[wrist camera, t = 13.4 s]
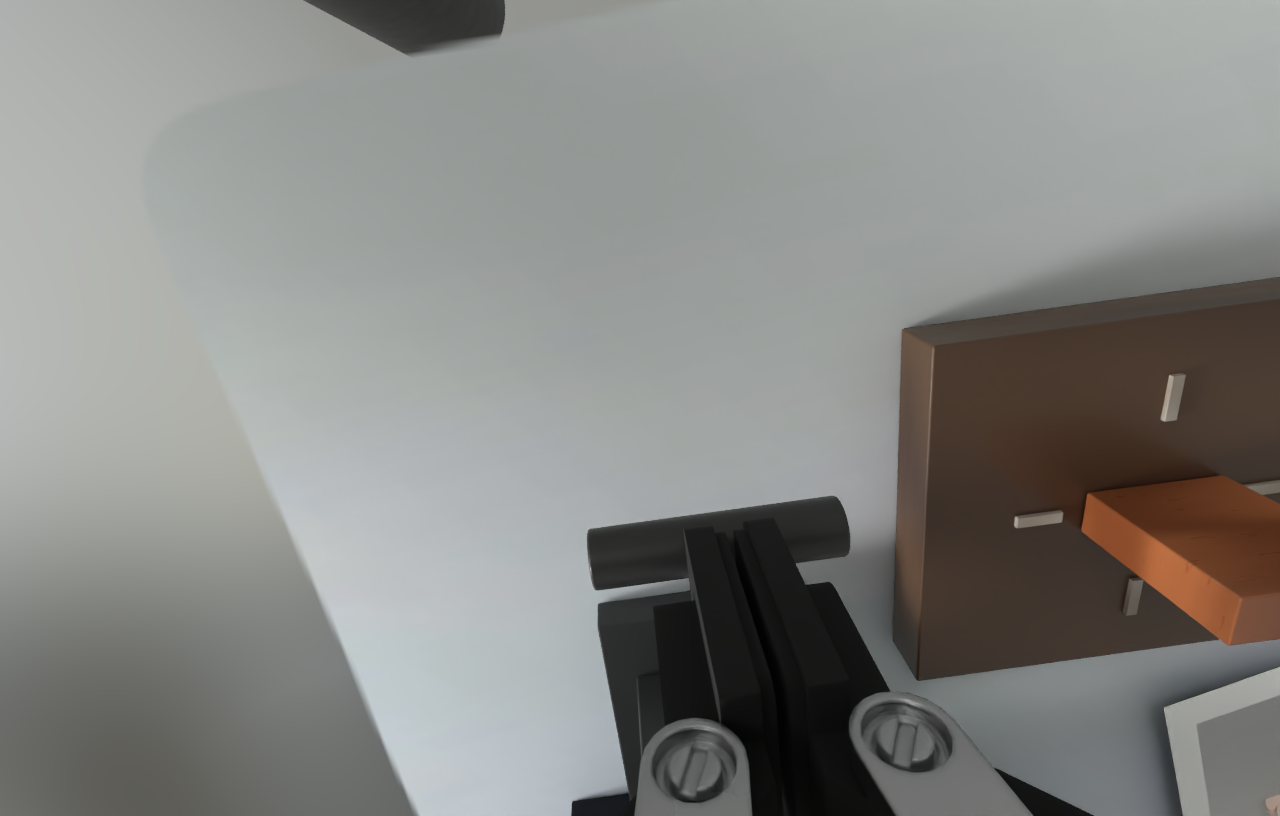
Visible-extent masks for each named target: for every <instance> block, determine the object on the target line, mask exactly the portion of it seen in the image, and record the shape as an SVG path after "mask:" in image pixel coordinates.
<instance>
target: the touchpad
mask: <svg viewBox="0 0 1280 816" xmlns="http://www.w3.org/2000/svg"><path fill="white" fill-rule="evenodd" d="M1164 713H1165V718H1166V724H1167V729H1168V735H1169V741H1170V746H1171V752H1172V758H1173V763H1174V769H1175V774H1176V780H1177V786H1178V791H1179V797H1180V802H1181V808H1182V814H1183V816H1280V667H1278V668H1275V669H1272V670H1269V671H1266V672H1264V673H1261V674H1258V675H1255V676H1252V677H1249V678H1246V679H1244V680H1241V681H1238V682H1235V683H1232V684H1229V685H1227V686H1224V687H1221V688H1218V689H1215V690H1212V691H1209V692H1207V693H1204V694H1201V695H1198V696H1195V697H1192V698H1190V699H1187V700H1184V701H1181V702H1178V703H1175V704H1173V705H1170V706H1167V707H1164Z"/></svg>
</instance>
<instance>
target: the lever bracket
mask: <svg viewBox="0 0 1280 816" xmlns="http://www.w3.org/2000/svg"><path fill="white" fill-rule="evenodd" d="M685 601H692V600H691V591H688V592H680V593H673V594H666V595H659V596H651V597H644V598H637V599H629V600H622V601H615V602H608V603H600V604H598V631H599V637H600V642H601V647H602V652H603V658H604V663H605V668H606V674H607V679H608V684H609V690H610V695H611V700H612V706H613V711H614V716H615V721H616V727H617V732H618V737H619V743H620V748H621V753H622V759H623V764H624V769H625V775H626V780H627V785H628V790H629V796H630V801H631V800H632V799H633V797H634V796H635V795H636V794H637V789H638V780H639V771H640V762H641V759H642V755H643V752H644V749H645V747H646V745H647V744H648V743H649V741H650V740H651V738H652V737H653V735H655V734H656V733H657V732H658V731H660V730H661V729H662V728H663V727H665V722H664V713H663V703H662V693H661V683H660V673H659V663H658V653H657V643H656V634H655V624H654V614H653V606H656V605H663V604H671V603H678V602H685ZM782 798H783V796H782ZM783 814H784V816H788V814H787V811H786V807H785V803H784V800H783Z"/></svg>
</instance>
